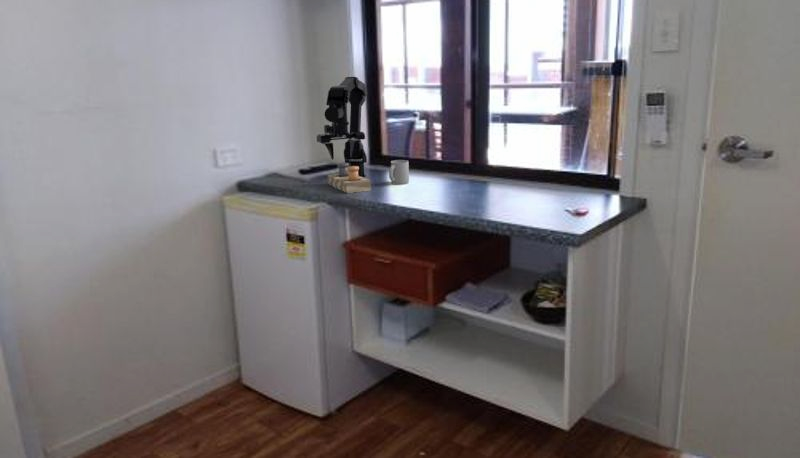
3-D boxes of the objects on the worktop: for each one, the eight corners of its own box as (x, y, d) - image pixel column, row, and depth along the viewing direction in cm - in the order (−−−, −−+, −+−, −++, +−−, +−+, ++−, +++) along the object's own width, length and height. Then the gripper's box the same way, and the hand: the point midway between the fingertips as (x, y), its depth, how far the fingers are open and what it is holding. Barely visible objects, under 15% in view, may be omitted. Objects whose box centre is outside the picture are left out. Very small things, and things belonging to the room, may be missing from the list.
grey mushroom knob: (346, 176, 254) (346, 162, 253) (351, 177, 251) (350, 163, 249) (336, 177, 252) (335, 163, 251) (340, 179, 249) (339, 164, 247)
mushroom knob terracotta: (356, 180, 246) (356, 165, 244) (361, 182, 242) (360, 167, 240) (345, 181, 244) (345, 166, 242) (350, 183, 240) (349, 168, 238)
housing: (328, 184, 254) (327, 175, 253) (350, 181, 259) (350, 172, 258) (347, 193, 237) (346, 183, 236) (370, 190, 242) (370, 180, 241)
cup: (412, 182, 255) (412, 161, 252) (396, 186, 248) (396, 164, 245) (399, 180, 259) (398, 159, 257) (383, 184, 252) (382, 162, 250)
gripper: (354, 116, 256) (355, 153, 260) (310, 119, 248) (313, 158, 252) (364, 118, 247) (366, 157, 251) (320, 121, 239) (322, 161, 243)
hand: (342, 158), depth 249 cm, fingers open, 8 cm apart
